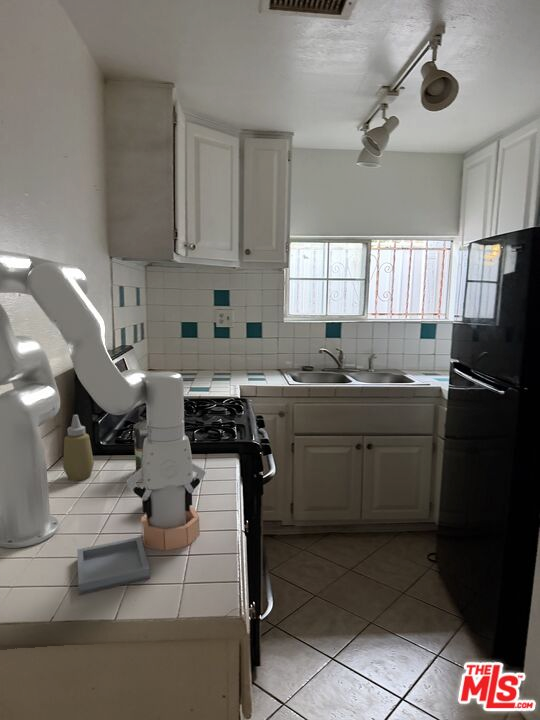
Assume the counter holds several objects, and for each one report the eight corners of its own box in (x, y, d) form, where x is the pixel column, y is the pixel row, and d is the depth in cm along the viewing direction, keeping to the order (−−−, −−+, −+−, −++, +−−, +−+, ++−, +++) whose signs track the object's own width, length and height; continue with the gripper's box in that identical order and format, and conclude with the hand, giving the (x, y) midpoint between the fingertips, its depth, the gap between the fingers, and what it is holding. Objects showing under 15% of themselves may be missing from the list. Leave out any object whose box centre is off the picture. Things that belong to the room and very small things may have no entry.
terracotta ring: (147, 554, 94) (146, 535, 94) (139, 528, 105) (138, 510, 104) (203, 542, 98) (203, 524, 98) (191, 518, 109) (190, 501, 108)
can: (177, 544, 97) (176, 488, 95) (144, 540, 99) (142, 485, 97) (191, 526, 104) (190, 474, 103) (159, 523, 106) (158, 471, 104)
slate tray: (79, 595, 82) (78, 584, 81) (78, 559, 93) (77, 549, 92) (149, 578, 86) (149, 568, 86) (140, 546, 97) (140, 536, 97)
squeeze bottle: (76, 485, 128) (71, 420, 125) (57, 479, 132) (52, 416, 129) (101, 475, 135) (97, 413, 132) (82, 469, 139) (78, 410, 136)
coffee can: (130, 478, 132) (128, 429, 130) (141, 464, 143) (139, 419, 140) (167, 478, 132) (165, 429, 130) (175, 465, 142) (174, 419, 140)
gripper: (124, 442, 91) (127, 527, 94) (211, 432, 98) (212, 512, 101) (120, 431, 98) (123, 511, 101) (202, 423, 105) (203, 498, 108)
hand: (167, 511), depth 101 cm, fingers closed on can, 7 cm apart
